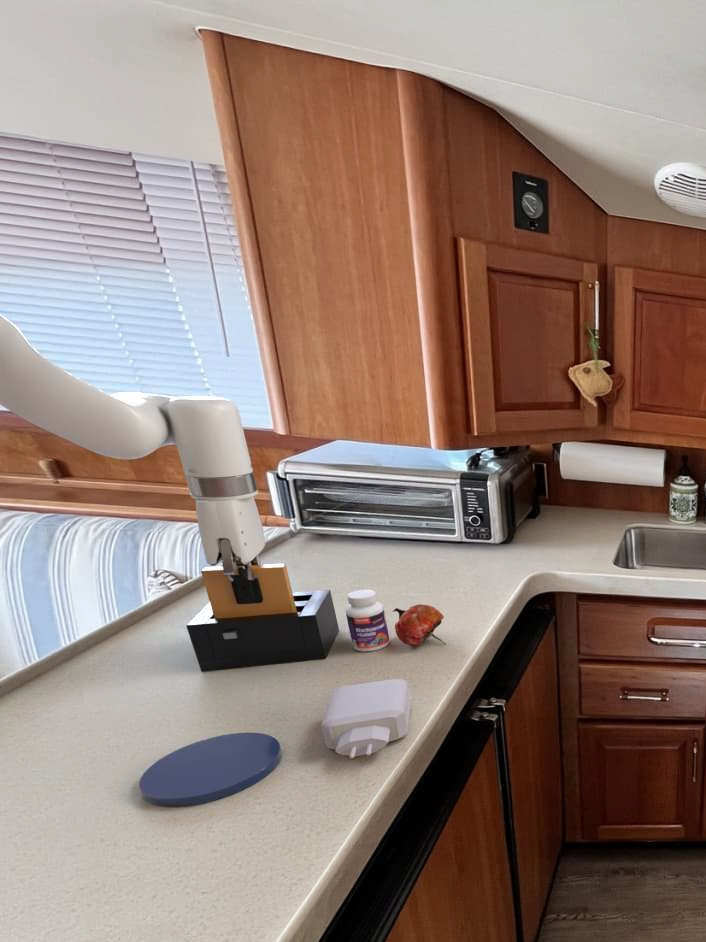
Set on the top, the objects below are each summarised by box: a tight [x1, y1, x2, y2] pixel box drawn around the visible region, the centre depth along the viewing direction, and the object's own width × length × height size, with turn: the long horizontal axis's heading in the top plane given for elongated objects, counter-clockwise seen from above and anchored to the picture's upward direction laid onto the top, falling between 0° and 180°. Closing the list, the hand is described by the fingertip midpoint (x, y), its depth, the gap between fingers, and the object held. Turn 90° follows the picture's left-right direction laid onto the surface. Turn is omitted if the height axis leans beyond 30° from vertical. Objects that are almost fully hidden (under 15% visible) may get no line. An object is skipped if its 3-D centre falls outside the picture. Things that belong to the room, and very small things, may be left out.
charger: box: [320, 678, 412, 759], centre depth 86 cm, size 5×9×15 cm
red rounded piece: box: [392, 603, 447, 647], centre depth 111 cm, size 7×7×10 cm
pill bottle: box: [345, 589, 390, 653], centre depth 108 cm, size 5×5×10 cm
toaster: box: [186, 589, 340, 673], centre depth 104 cm, size 16×12×8 cm
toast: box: [200, 563, 297, 619], centre depth 100 cm, size 10×2×12 cm, turn 114°
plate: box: [138, 732, 283, 808], centre depth 78 cm, size 13×13×1 cm
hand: (252, 599), depth 100 cm, fingers closed on toast, 1 cm apart
